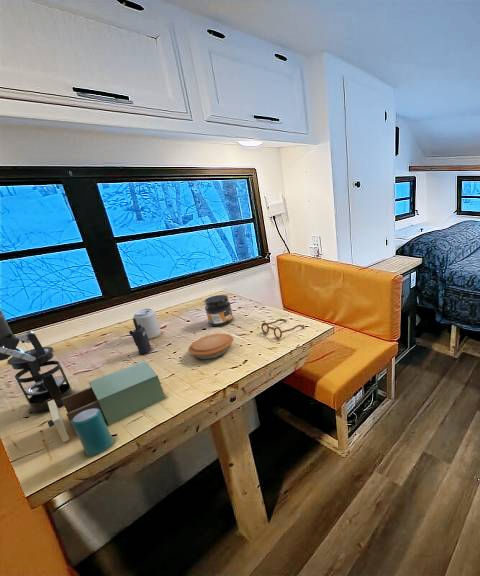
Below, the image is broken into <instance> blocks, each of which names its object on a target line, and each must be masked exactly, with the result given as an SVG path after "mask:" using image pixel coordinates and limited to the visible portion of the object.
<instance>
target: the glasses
mask: <svg viewBox="0 0 480 576" xmlns="http://www.w3.org/2000/svg"><path fill="white" fill-rule="evenodd" d="M280 321H282V322H287V320H286V319H284V318H279V319H277V320H275V321H271V322H262V323H261V331H262V333H264V334H268V333H269V331H270V330H273V335H274V337H275V338H276V339H278V340H279V339H281V338H282V336H283V333H286V332H287V333H288V332H290V331H294V330H295V329H297V328H299V327H300V328H302V329H304V328H305V326H303V325H301V324H298V325H295V326H294V327H292V328H288V329H285V330H282V329H281V328H280V327H278V326H277V327H272V326H269V325H272V324H276V323H278V322H280ZM264 326H266V328H267V329H266V331H265V329H264ZM276 330H278V331H279V336H278V335H277V334H276Z"/></svg>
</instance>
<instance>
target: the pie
mask: <svg viewBox="0 0 480 576" xmlns="http://www.w3.org/2000/svg"><path fill="white" fill-rule="evenodd" d="M233 342H234V337H233V336H232V335H230V334H227V333H213V334H207V335H205V336H202V337H200V338H198V339H197V340H194V341H193V342H192V343H191V344H190V345H189V346H188V349H187V352H188V353H189V354H190V355H192V356H195V357H196V358H198V359H200V360H213V359H215V358H219V357H221V356H223V355H225V354H226V353H227V352H228V351H229V349H230V348H231V345H232V344H233Z"/></svg>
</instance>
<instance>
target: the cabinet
mask: <svg viewBox="0 0 480 576" xmlns="http://www.w3.org/2000/svg"><path fill="white" fill-rule="evenodd" d="M88 384H89V387H91V388H92V390H93V392H94V394H95V396H96V398H97V400H98V402H99V404H100V406H101V409H102V411H103V413H104V416H105V418H106V420H105V422H106V424H107V426H110V425H112V424H114V423H117V422H119V421H120V420H123V419H125V418H127V417H130V416H131V415H134V414H136V413H138V412H140V411H141V410H145V409H146V408H148V407H151V406H152V405H155V404H156V403H158V402H162V401H163V400H165V399H166V397H165V393H164V389H163V387H162V383H161V381H160V378H159V375H158V374H157V373H156V371H154V369H153V368H152V367H151V366H150V365H149V364H148V363H147V362H146V360H143V361H140V362H138V363H135V364H132V365H129V366H127V367H125V368H121V369H119V370H116V371H114V372H112V373H109V374H106V375H104V376H101V377H98V378H96V379H95V378H94V379H93V380H90V381H88Z"/></svg>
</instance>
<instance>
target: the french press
mask: <svg viewBox="0 0 480 576" xmlns="http://www.w3.org/2000/svg"><path fill="white" fill-rule="evenodd" d="M20 335H21V334H20ZM20 335H18V336H20ZM20 342H21V344H24V346H25V348H26V350H25V351H26V352H29V353H32V352H34V351H36V350H35V348H31V349H30V348H29V346H28V343H26V342H25V341H20ZM42 347H43V349H44V351H45V354H44V355H41V356H39V357H38V358H37V362H38V364H39V366H40V368H43V367H47V366H52V365H54V366H55V367H52V368H51V369H50V370H48V371H45V372H43V373H42V372H41V370H40V371H39V372H38V374H37V375H34V374H33V372H32V370H31V368H30V366H29V364H28V362H27V360H24V359H21V358H17V357H13V356H11V357H9V358H8V359H7V361H6V363H7V365H9V366H11V367H12V369H13V370H16V371H17V370H18V372H17V373H15V375H14V379H15V380H16V382H17V384H18V386H19V387H20V390H21V391H22V394H23V395H24V397H25V399H26V402H27V403H28V405H29V407H30V411H31V413H34V414H43V413H44V414H45V413H48V412H50V410H49V406H48V401H51V400H54V401H55V403H56V405H57V407H58V409H59V408H61V407H63V406H64V404H63V402H62V400H61V398H64V397H66V396H69V395H71V394H74V393H75V392H74V391H73V389H72V387H71V384H70V383H69V380H68V378H67V376H66V374H65V371H64V369H63V367H62V365H61V363H60V361H58V360H52V359H53V358H54V356H55V355H54V353H53V351H54V347H51V346H42ZM58 371H60V373H61V376H54V375H53V374H55V373H57V372H58ZM27 373H30V375H31V376H29V377H23V378H22V376H23V375H25V374H27ZM31 382H34V383H33V384H31V385H29V386H28V387H27V388H26V389H24V386H23V384H25V383H31ZM50 398H51V399H50Z"/></svg>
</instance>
